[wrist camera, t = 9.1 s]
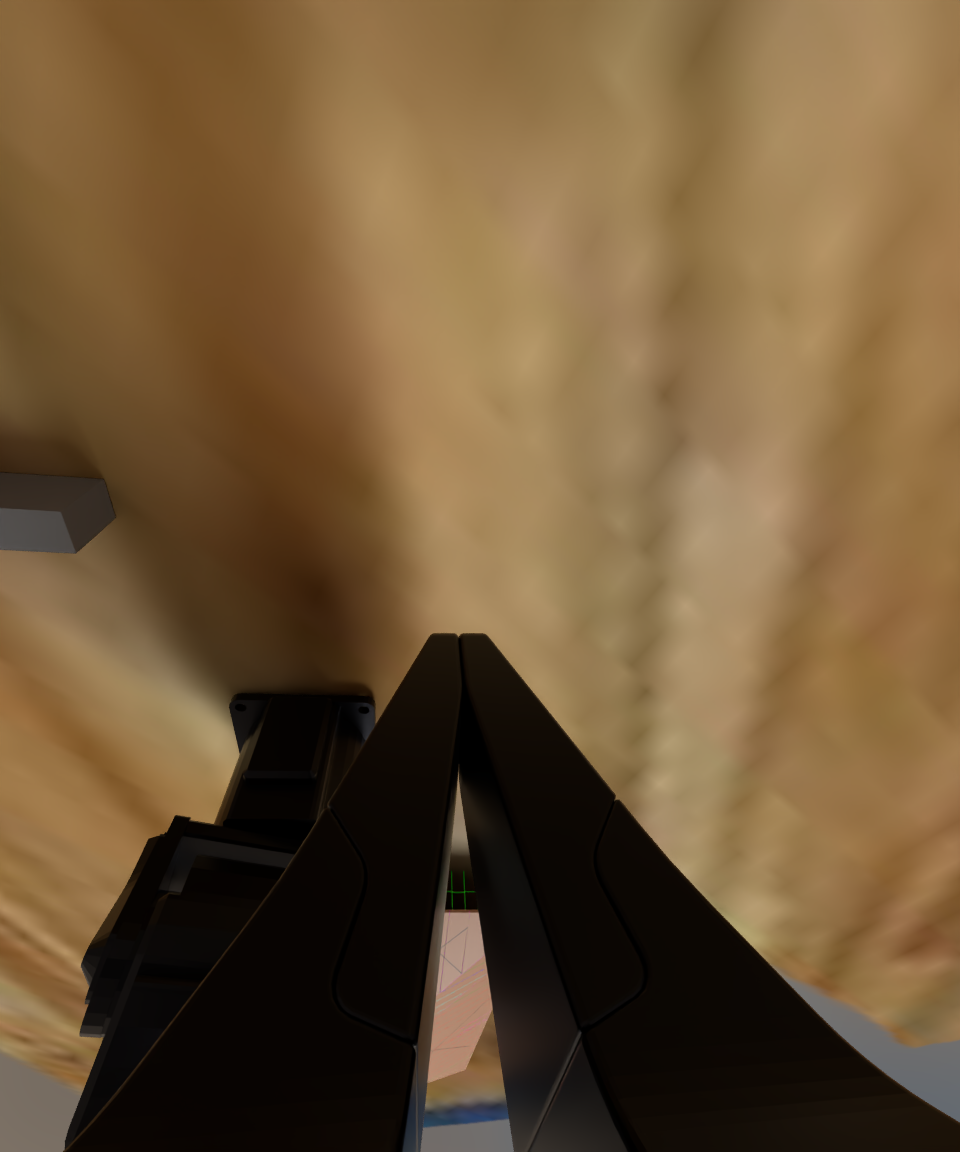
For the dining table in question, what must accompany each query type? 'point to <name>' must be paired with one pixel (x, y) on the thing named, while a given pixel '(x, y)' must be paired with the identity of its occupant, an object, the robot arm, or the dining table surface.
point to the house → (459, 993)
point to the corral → (51, 512)
